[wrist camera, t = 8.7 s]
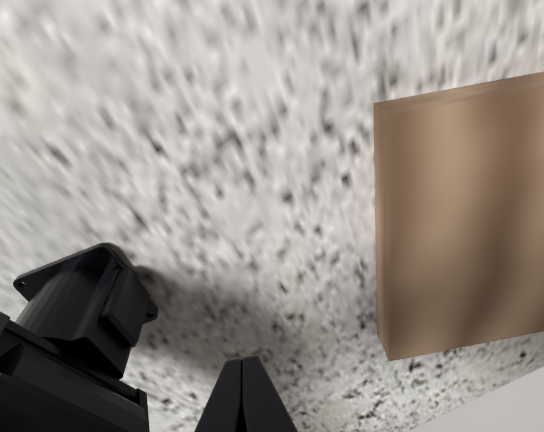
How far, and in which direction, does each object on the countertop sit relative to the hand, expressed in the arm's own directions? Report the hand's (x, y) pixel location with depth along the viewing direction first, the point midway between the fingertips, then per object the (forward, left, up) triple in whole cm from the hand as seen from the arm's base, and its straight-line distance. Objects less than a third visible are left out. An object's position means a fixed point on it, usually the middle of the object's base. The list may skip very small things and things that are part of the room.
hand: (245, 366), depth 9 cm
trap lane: (+17, -10, -13) cm, 24 cm away
